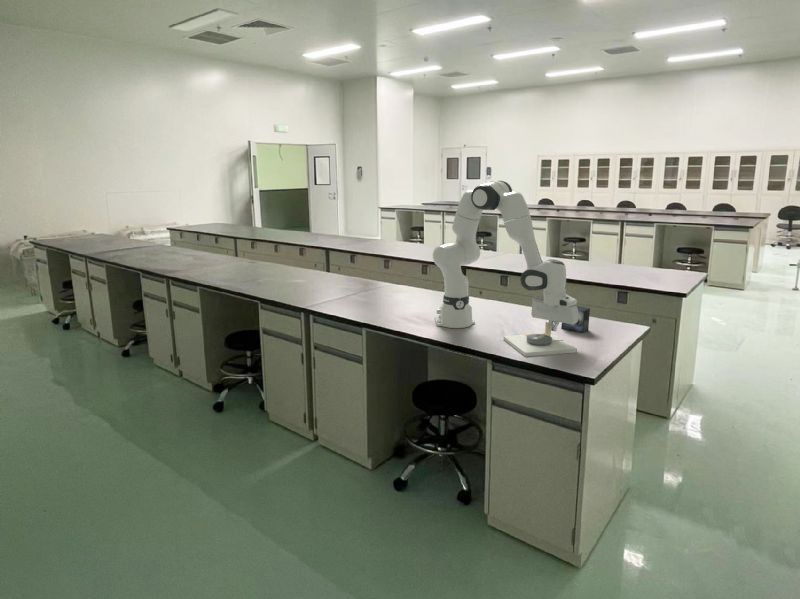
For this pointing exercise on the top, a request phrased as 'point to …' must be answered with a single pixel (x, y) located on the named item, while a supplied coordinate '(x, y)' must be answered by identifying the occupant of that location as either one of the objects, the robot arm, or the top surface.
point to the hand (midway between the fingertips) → (553, 330)
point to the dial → (541, 337)
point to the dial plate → (539, 346)
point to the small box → (579, 321)
